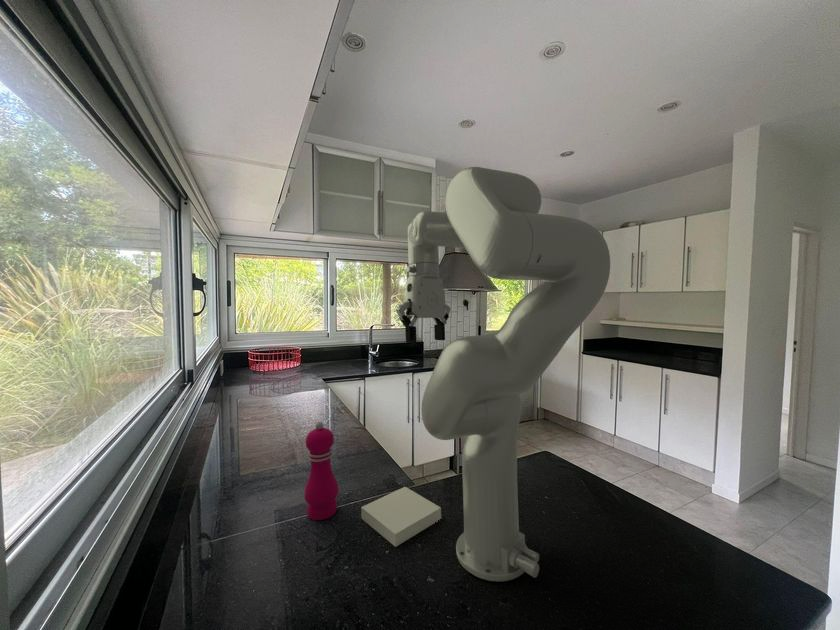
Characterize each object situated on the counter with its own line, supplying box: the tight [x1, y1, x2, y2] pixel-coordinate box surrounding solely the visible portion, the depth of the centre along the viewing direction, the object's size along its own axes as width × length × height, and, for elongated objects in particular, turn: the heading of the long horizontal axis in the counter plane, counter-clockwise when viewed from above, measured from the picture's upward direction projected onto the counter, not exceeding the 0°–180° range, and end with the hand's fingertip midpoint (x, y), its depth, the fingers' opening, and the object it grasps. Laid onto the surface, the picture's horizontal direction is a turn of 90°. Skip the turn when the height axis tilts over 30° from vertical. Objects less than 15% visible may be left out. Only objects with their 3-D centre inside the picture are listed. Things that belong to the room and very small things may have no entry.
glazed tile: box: [360, 486, 442, 547], centre depth 70 cm, size 3×12×12 cm
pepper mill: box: [303, 421, 339, 521], centre depth 73 cm, size 7×7×20 cm
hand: (426, 341), depth 82 cm, fingers open, 9 cm apart
